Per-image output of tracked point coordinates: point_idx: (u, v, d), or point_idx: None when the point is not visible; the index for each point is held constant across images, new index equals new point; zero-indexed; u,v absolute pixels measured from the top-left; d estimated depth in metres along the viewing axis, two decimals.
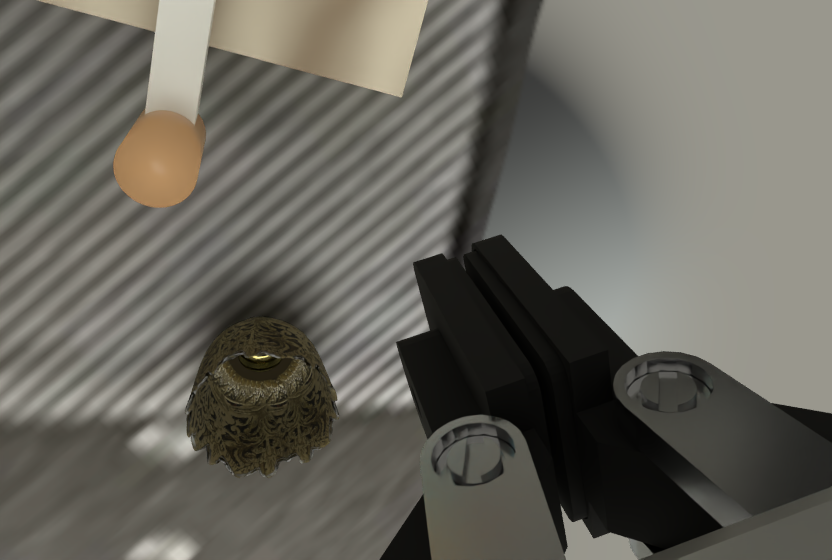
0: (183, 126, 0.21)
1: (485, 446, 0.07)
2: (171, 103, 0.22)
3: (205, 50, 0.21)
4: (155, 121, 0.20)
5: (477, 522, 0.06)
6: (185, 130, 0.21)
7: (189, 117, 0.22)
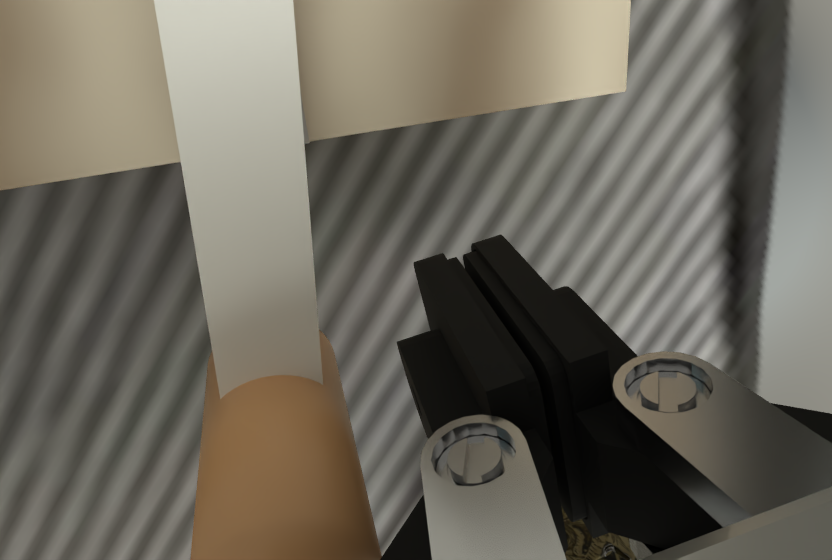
0: (311, 428, 0.09)
1: (485, 445, 0.07)
2: (267, 361, 0.10)
3: (309, 238, 0.09)
4: (252, 456, 0.08)
5: (477, 522, 0.06)
6: (320, 444, 0.09)
7: (310, 373, 0.10)
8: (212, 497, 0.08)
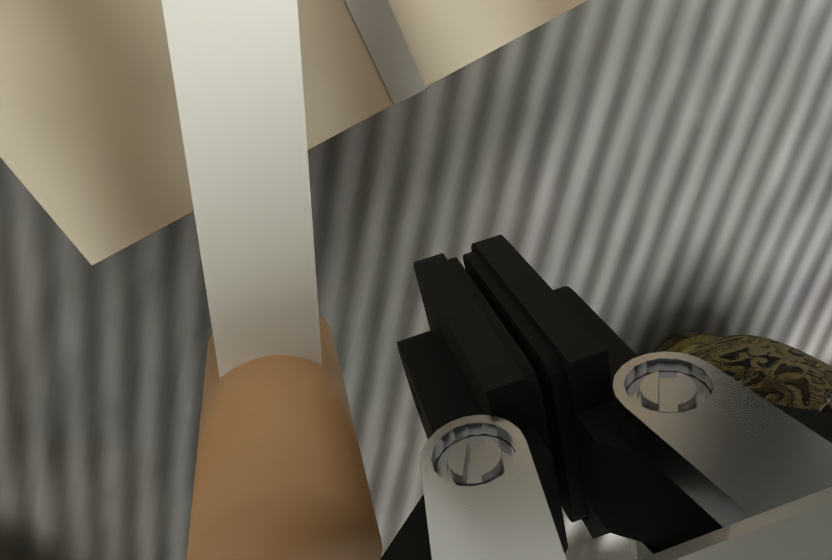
0: (310, 406, 0.09)
1: (485, 446, 0.07)
2: (266, 341, 0.10)
3: (309, 217, 0.09)
4: (251, 431, 0.08)
5: (477, 522, 0.06)
6: (318, 421, 0.09)
7: (308, 354, 0.10)
8: (211, 471, 0.08)
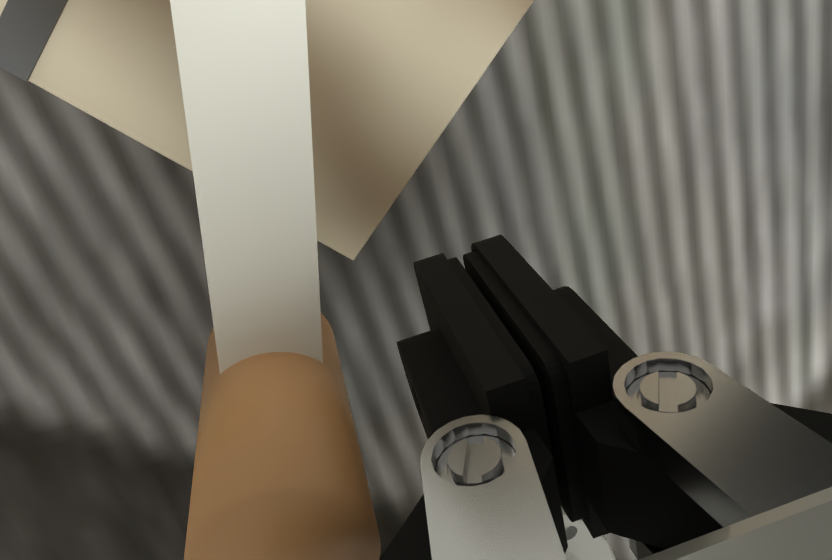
0: (310, 403, 0.09)
1: (485, 446, 0.07)
2: (267, 338, 0.10)
3: (313, 213, 0.09)
4: (251, 427, 0.08)
5: (477, 522, 0.06)
6: (318, 418, 0.09)
7: (310, 351, 0.10)
8: (210, 467, 0.08)
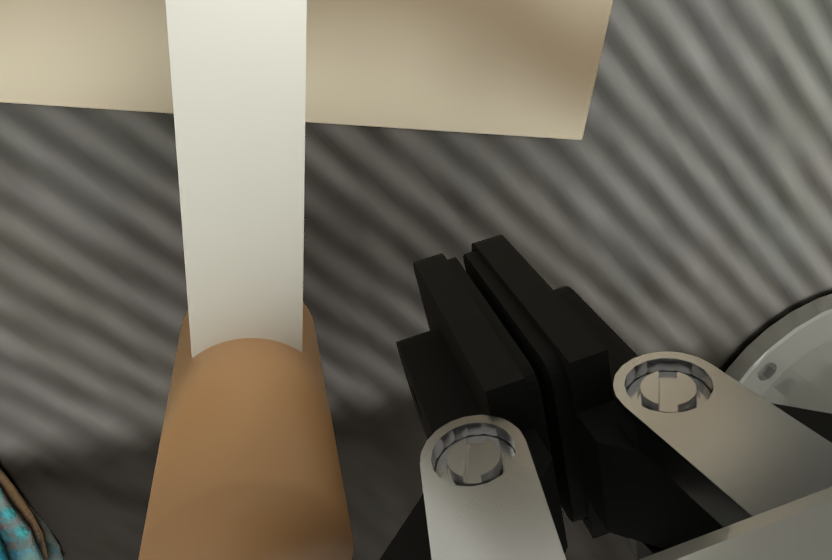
0: (287, 393, 0.09)
1: (485, 446, 0.07)
2: (245, 322, 0.09)
3: (301, 193, 0.09)
4: (222, 415, 0.08)
5: (477, 522, 0.06)
6: (294, 409, 0.08)
7: (289, 339, 0.10)
8: (175, 455, 0.08)
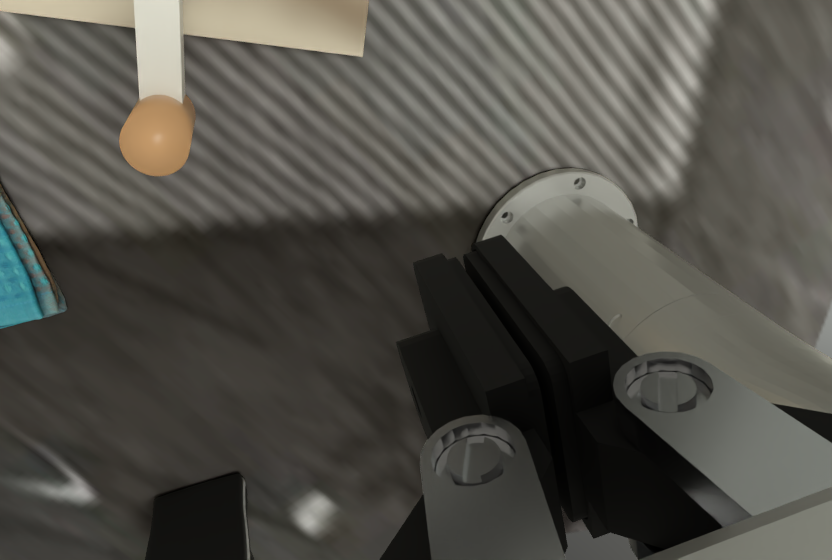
0: (172, 105, 0.25)
1: (485, 446, 0.07)
2: (159, 88, 0.25)
3: (179, 37, 0.25)
4: (148, 104, 0.24)
5: (477, 522, 0.06)
6: (173, 108, 0.24)
7: (177, 97, 0.26)
8: (132, 114, 0.24)
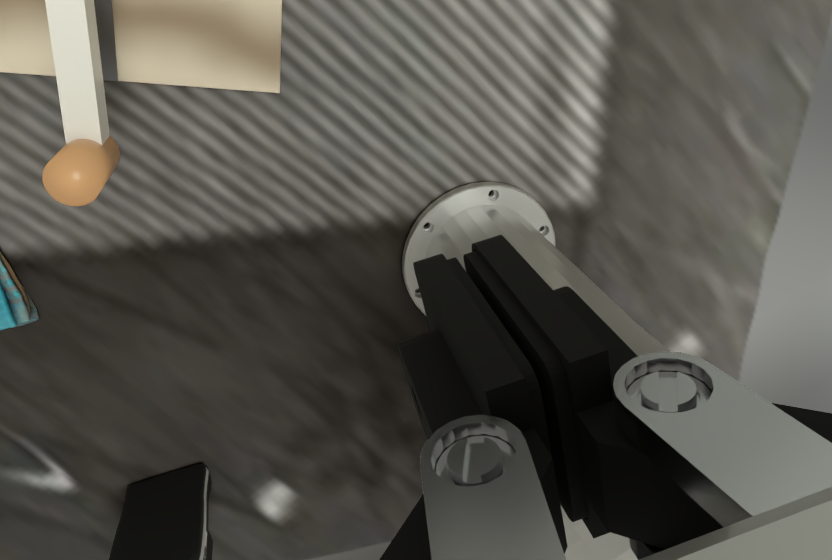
0: (89, 147, 0.30)
1: (485, 446, 0.07)
2: (82, 133, 0.31)
3: (95, 92, 0.30)
4: (67, 148, 0.30)
5: (477, 522, 0.06)
6: (89, 150, 0.30)
7: (97, 140, 0.31)
8: (54, 156, 0.29)
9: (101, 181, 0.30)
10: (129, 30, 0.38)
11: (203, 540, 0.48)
